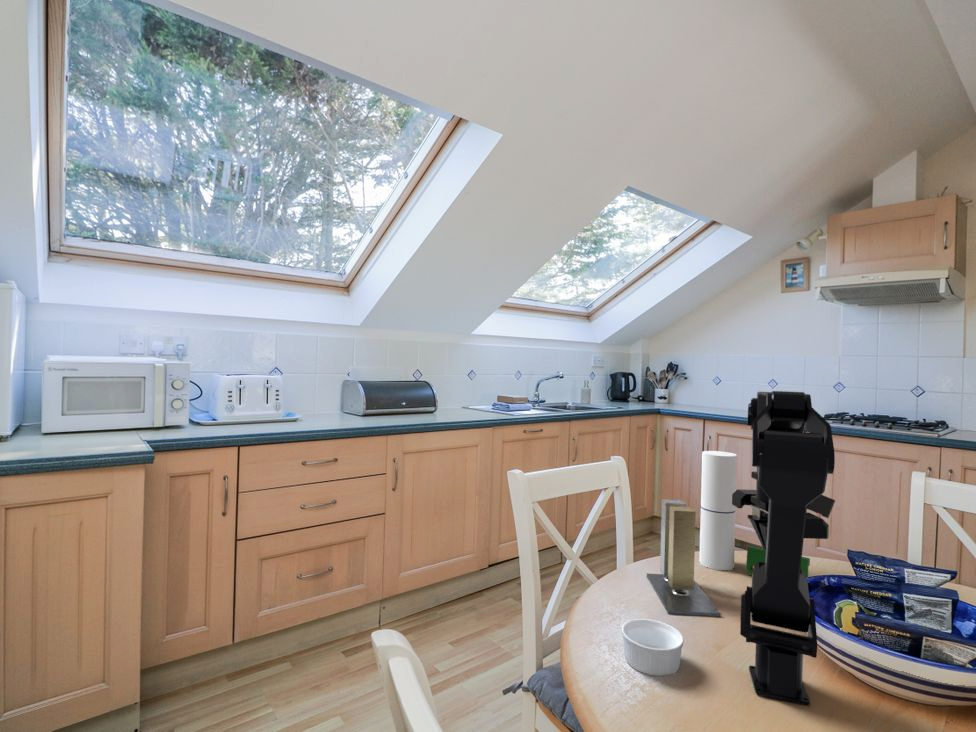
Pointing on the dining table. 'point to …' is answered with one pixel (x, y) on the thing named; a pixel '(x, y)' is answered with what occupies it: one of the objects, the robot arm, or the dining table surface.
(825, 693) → the dining table surface
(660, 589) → the bolt plate
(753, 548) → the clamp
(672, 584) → the sliding leg
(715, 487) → the cylindrical container
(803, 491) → the robot arm
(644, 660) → the ramekin
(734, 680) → the dining table surface
